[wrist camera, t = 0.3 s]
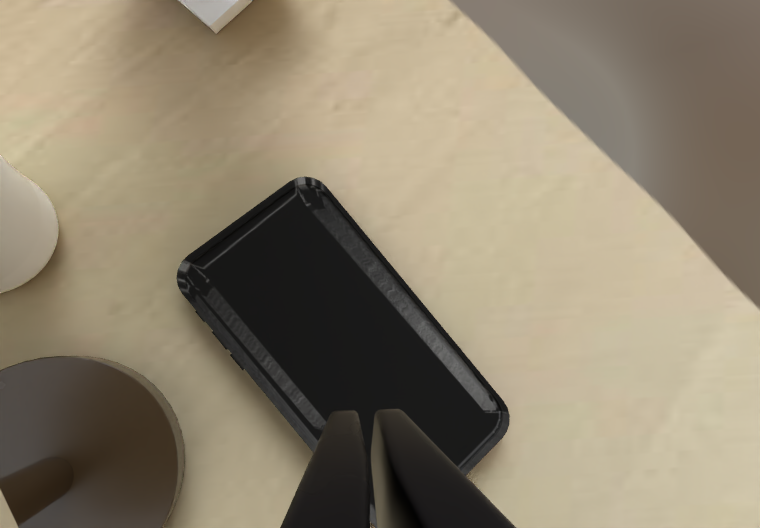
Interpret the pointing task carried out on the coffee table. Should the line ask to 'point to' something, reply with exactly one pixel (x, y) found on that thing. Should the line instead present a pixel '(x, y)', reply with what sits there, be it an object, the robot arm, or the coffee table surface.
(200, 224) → the coffee table surface
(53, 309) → the coffee table surface
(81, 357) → the lamp
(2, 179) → the drinking glass
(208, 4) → the figurine
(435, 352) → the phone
